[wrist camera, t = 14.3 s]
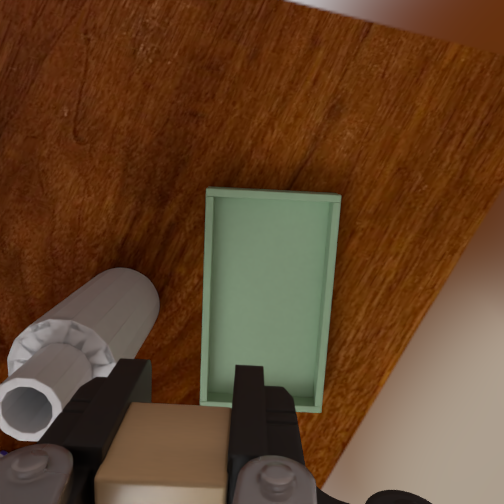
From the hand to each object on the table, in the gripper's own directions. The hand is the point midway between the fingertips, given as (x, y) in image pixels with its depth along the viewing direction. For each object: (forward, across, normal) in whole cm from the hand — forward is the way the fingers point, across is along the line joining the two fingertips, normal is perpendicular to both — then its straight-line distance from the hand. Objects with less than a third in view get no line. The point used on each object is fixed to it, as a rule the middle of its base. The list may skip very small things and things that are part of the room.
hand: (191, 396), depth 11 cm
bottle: (+25, +9, +6) cm, 27 cm away
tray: (+25, -3, +5) cm, 26 cm away
